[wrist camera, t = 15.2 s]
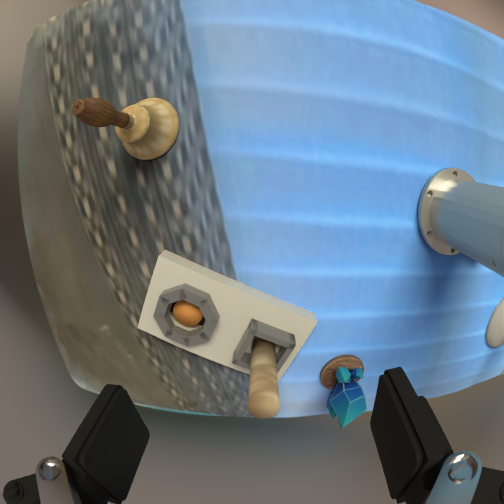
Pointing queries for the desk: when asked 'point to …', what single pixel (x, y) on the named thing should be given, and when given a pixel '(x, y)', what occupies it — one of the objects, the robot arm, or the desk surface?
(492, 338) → the candlestick
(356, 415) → the gemstone
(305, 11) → the desk surface
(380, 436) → the robot arm
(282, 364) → the panel
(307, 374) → the desk surface
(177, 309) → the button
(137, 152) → the hand bell
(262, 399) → the wooden cylinder rod
